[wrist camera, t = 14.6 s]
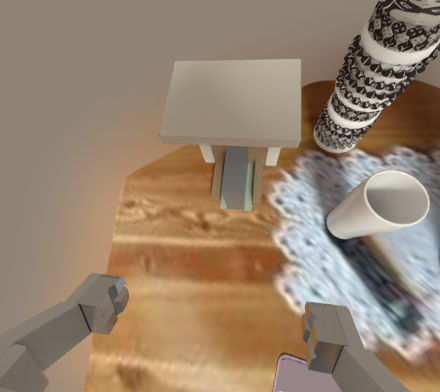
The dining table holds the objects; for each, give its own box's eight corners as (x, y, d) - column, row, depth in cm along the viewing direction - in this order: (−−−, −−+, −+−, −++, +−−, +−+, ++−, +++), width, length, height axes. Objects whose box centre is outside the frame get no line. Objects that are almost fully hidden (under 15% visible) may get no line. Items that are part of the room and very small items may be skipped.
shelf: (273, 213, 40) (300, 154, 20) (199, 207, 42) (155, 148, 22) (276, 156, 44) (300, 58, 24) (206, 153, 46) (175, 61, 26)
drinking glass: (320, 204, 40) (360, 167, 26) (360, 206, 39) (425, 169, 25) (321, 242, 38) (366, 224, 24) (364, 245, 37) (437, 229, 23)
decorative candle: (353, 161, 42) (489, 20, 18) (304, 145, 44) (371, 1, 20) (366, 123, 44) (502, -47, 21) (319, 110, 46) (394, -57, 23)
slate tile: (244, 210, 41) (243, 192, 31) (227, 208, 41) (221, 190, 32) (248, 166, 44) (248, 137, 34) (231, 165, 44) (227, 136, 35)
